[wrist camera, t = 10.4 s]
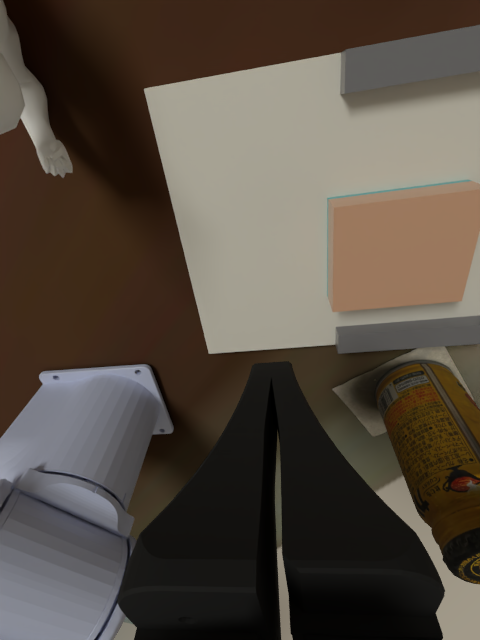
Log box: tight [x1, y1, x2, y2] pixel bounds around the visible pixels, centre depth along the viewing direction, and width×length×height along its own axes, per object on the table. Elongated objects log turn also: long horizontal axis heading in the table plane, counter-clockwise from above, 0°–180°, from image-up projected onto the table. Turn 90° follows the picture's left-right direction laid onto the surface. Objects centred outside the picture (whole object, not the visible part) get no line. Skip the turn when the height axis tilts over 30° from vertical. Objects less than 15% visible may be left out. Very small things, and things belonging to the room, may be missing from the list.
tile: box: [327, 180, 480, 312], centre depth 18 cm, size 2×6×7 cm
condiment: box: [332, 346, 480, 584], centre depth 21 cm, size 7×8×12 cm
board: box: [144, 25, 480, 354], centre depth 18 cm, size 18×16×2 cm
